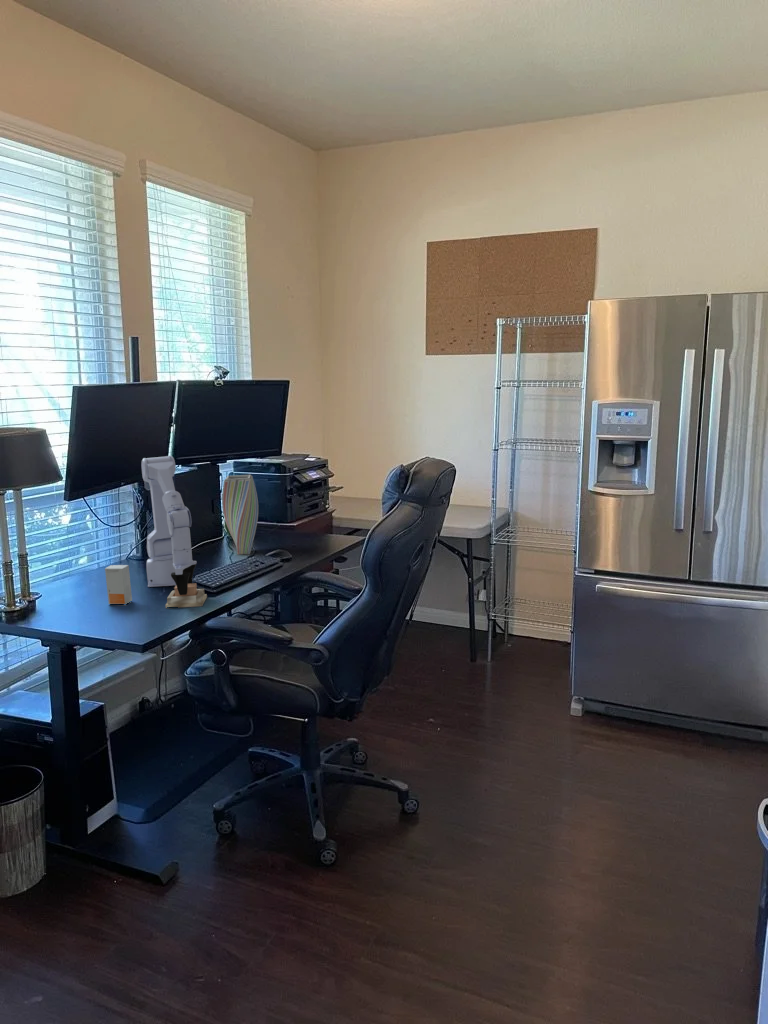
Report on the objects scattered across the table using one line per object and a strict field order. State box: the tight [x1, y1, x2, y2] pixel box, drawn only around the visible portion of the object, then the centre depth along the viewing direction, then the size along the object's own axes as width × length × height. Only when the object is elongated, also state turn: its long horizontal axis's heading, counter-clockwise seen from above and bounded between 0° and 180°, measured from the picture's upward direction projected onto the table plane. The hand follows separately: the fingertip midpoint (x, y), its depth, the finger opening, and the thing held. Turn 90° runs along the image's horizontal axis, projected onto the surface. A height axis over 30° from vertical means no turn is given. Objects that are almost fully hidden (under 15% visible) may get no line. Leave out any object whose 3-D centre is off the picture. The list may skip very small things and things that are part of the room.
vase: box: [221, 474, 259, 555], centre depth 289 cm, size 14×14×30 cm
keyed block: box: [173, 582, 198, 596], centre depth 232 cm, size 4×6×4 cm, turn 95°
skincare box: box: [104, 564, 133, 605], centre depth 233 cm, size 6×4×12 cm
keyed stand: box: [165, 588, 208, 609], centre depth 232 cm, size 11×9×3 cm
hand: (185, 590), depth 232 cm, fingers open, 7 cm apart
